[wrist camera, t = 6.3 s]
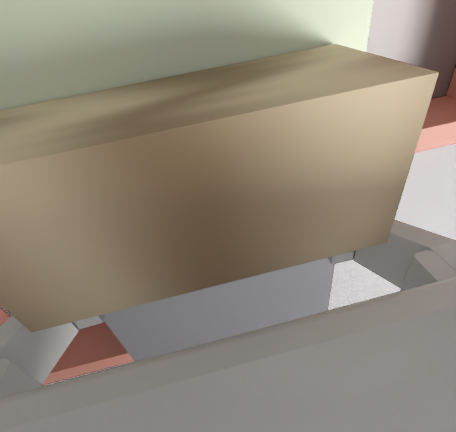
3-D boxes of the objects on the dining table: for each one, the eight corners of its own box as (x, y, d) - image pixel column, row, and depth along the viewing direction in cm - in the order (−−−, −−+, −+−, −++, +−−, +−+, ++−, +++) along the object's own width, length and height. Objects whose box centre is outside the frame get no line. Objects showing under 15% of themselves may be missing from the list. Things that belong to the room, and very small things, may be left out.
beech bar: (334, 43, 8) (439, 72, 5) (323, 174, 11) (386, 242, 8) (-14, 113, 8) (-128, 192, 5) (68, 233, 11) (31, 332, 7)
